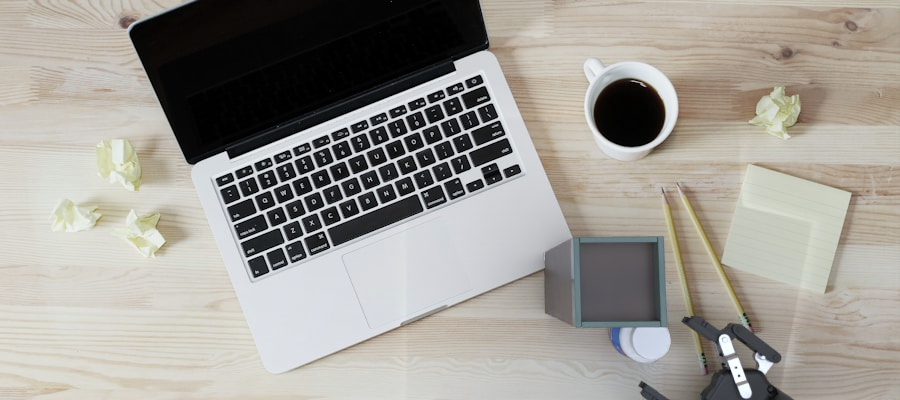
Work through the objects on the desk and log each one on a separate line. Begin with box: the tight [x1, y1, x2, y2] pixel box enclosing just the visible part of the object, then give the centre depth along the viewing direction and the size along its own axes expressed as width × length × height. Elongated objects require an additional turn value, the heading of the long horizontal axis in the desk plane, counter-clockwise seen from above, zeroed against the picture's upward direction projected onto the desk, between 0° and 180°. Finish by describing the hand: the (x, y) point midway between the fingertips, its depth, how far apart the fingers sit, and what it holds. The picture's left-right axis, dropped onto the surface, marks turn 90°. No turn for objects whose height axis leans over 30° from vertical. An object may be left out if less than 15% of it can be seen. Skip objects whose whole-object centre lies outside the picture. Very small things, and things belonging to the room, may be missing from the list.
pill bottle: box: [608, 326, 672, 364], centre depth 82 cm, size 6×5×10 cm
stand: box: [543, 238, 655, 327], centre depth 74 cm, size 7×7×27 cm
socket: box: [570, 235, 668, 329], centre depth 60 cm, size 7×7×2 cm
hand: (662, 351), depth 81 cm, fingers open, 8 cm apart
